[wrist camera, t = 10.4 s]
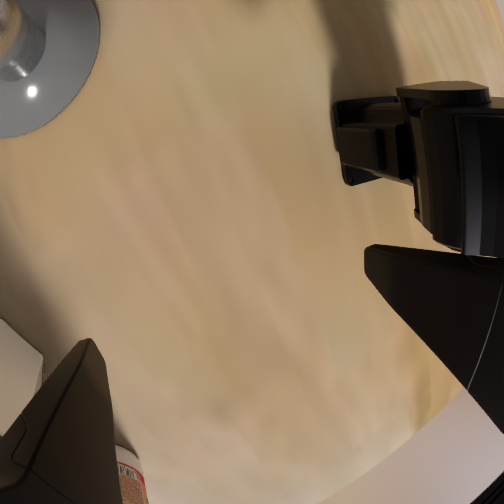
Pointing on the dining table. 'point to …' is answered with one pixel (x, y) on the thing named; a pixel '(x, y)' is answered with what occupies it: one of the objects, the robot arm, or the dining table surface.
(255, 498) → the dining table surface
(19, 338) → the jar
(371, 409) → the dining table surface
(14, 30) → the peg
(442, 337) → the robot arm
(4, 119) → the coaster
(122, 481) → the fruit juice
